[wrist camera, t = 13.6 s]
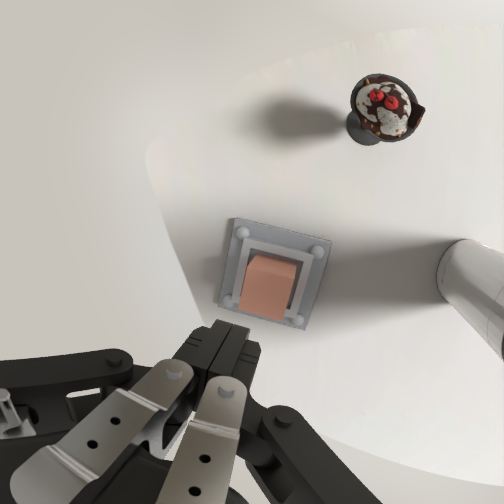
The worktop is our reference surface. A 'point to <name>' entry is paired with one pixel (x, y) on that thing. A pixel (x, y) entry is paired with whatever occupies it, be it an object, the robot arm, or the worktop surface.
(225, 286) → the plate
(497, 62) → the worktop surface
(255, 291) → the block
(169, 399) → the robot arm
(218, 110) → the worktop surface
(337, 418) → the worktop surface
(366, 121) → the sundae
